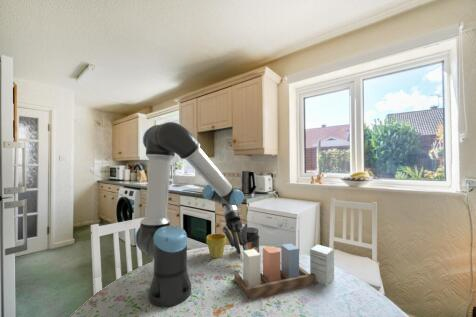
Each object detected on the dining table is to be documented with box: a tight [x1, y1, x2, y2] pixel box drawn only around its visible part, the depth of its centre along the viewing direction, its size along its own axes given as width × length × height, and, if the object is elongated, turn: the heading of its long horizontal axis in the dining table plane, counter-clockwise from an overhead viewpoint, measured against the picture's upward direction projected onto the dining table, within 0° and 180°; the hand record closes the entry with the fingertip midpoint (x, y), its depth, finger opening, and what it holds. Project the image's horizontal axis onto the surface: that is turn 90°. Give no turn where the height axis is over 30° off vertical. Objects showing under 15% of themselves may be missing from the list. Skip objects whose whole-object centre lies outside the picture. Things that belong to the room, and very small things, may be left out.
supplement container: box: [240, 226, 260, 254], centre depth 117 cm, size 10×10×12 cm
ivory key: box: [242, 249, 262, 287], centre depth 87 cm, size 5×6×12 cm
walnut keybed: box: [234, 265, 316, 301], centre depth 88 cm, size 29×14×4 cm, turn 110°
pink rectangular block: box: [262, 245, 282, 282], centre depth 90 cm, size 5×6×12 cm
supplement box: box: [309, 244, 335, 286], centre depth 91 cm, size 7×7×13 cm
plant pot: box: [205, 233, 227, 259], centre depth 113 cm, size 10×10×10 cm
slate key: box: [280, 243, 300, 278], centre depth 93 cm, size 5×6×12 cm
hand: (243, 260), depth 97 cm, fingers closed
